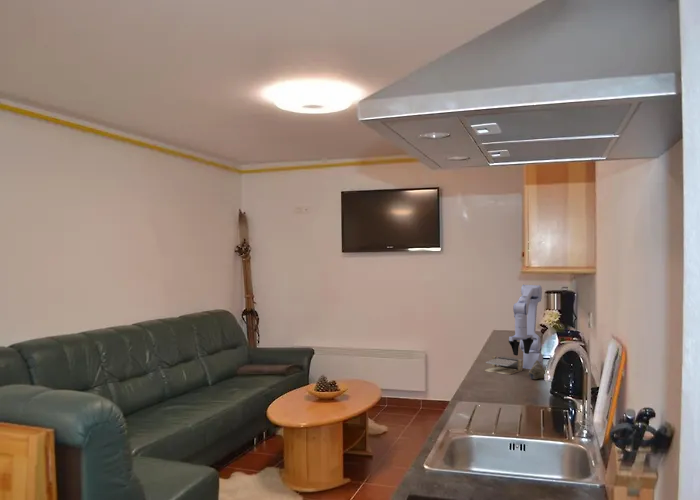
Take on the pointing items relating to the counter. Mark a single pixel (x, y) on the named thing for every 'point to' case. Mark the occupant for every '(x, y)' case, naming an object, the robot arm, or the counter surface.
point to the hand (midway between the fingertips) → (521, 354)
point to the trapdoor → (505, 361)
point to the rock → (537, 371)
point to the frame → (505, 370)
